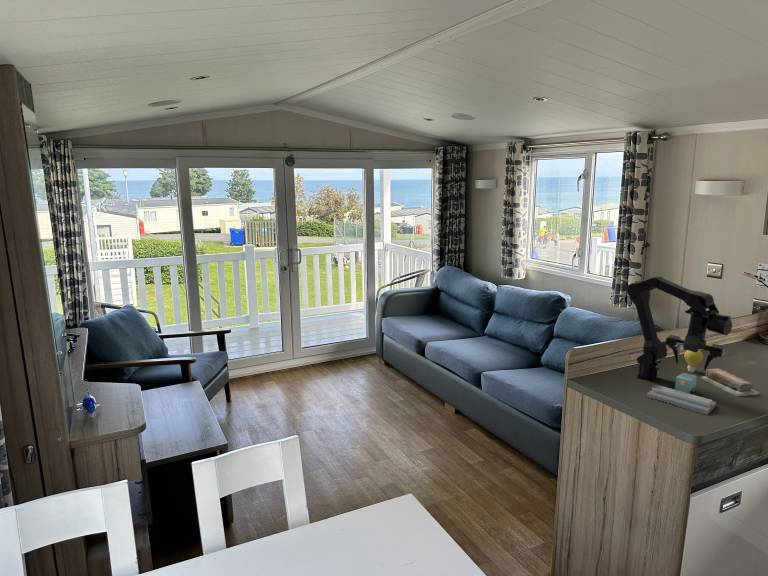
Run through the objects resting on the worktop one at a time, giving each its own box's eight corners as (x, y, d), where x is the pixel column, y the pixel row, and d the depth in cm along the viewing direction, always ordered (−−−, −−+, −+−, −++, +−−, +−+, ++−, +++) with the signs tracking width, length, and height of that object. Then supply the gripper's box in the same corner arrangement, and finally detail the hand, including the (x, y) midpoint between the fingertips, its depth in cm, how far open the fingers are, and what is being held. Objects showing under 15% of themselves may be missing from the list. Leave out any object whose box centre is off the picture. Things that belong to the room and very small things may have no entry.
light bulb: (699, 369, 226) (703, 347, 223) (701, 375, 220) (704, 352, 218) (681, 367, 228) (684, 344, 226) (682, 372, 222) (686, 349, 220)
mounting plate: (646, 397, 198) (647, 393, 198) (656, 389, 205) (657, 385, 205) (707, 414, 184) (707, 410, 184) (715, 406, 191) (716, 402, 191)
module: (673, 392, 202) (675, 377, 201) (680, 387, 208) (682, 372, 206) (688, 396, 199) (690, 381, 198) (694, 390, 204) (696, 376, 203)
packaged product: (701, 368, 216) (722, 366, 218) (699, 379, 217) (720, 377, 219) (739, 385, 198) (761, 383, 200) (737, 397, 199) (759, 395, 202)
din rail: (651, 391, 200) (652, 387, 199) (655, 388, 202) (655, 384, 202) (708, 407, 186) (709, 403, 186) (712, 404, 189) (712, 400, 189)
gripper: (664, 326, 197) (657, 366, 201) (722, 338, 186) (714, 380, 189) (672, 320, 206) (665, 358, 209) (728, 331, 194) (721, 371, 197)
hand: (690, 366), depth 201 cm, fingers open, 9 cm apart
